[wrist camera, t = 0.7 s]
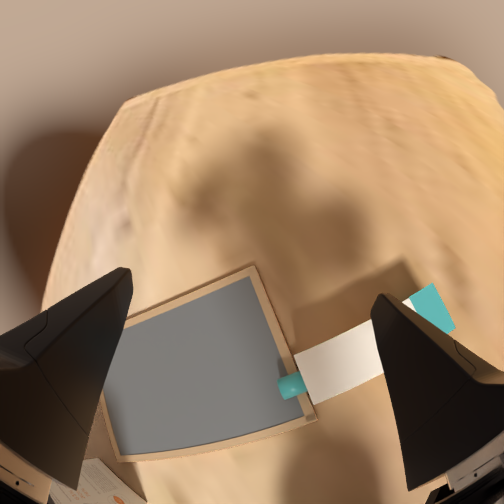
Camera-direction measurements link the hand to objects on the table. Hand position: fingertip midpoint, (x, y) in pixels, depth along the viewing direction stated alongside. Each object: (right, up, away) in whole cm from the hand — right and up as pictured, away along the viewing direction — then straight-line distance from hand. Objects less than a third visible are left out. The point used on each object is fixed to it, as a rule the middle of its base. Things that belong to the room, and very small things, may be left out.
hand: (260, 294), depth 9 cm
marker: (+10, -7, +12) cm, 17 cm away
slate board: (-7, -10, +14) cm, 19 cm away
